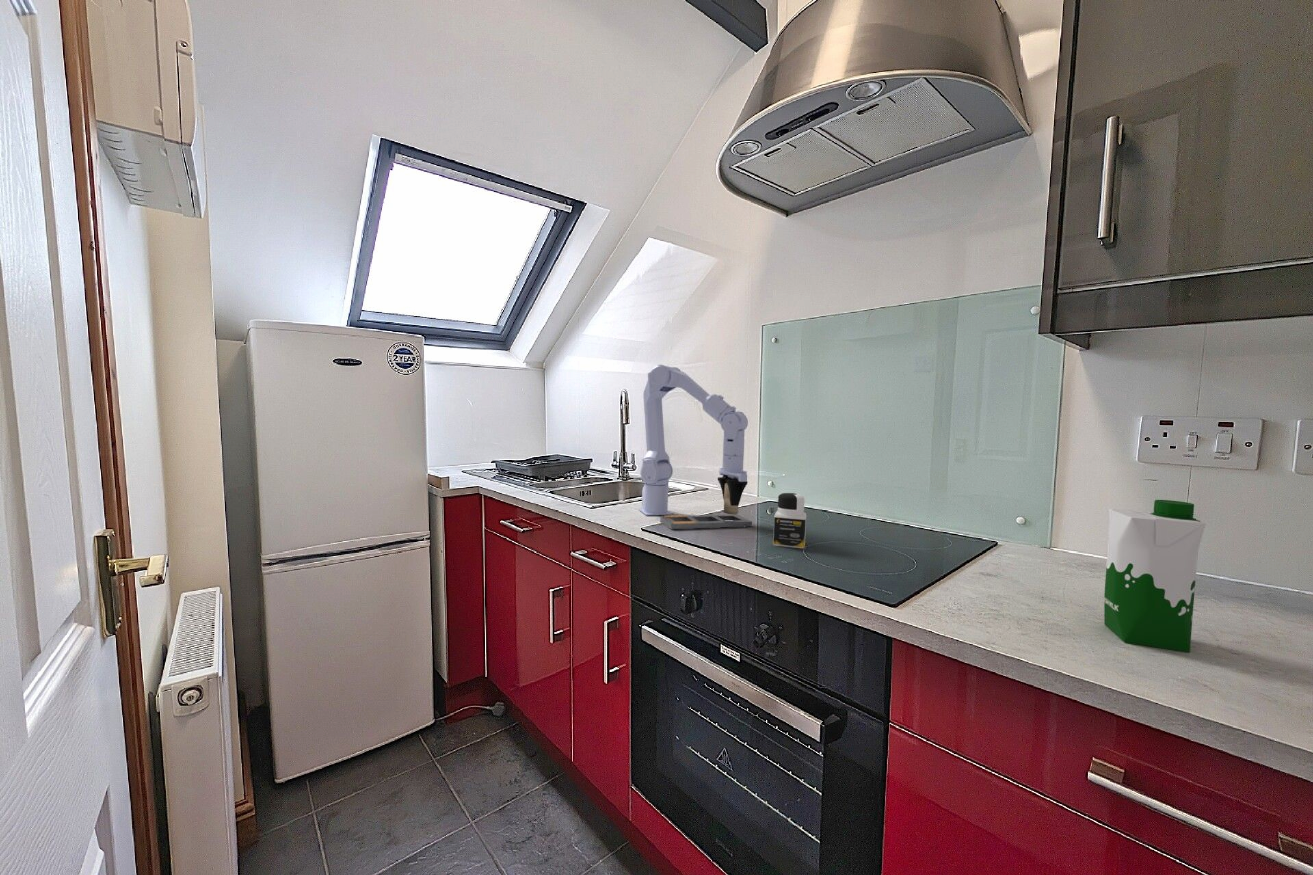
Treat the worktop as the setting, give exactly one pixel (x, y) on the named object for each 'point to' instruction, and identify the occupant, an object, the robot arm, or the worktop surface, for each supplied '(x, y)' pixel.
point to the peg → (728, 503)
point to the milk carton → (1152, 574)
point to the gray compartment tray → (704, 521)
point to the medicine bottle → (790, 521)
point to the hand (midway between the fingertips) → (731, 503)
